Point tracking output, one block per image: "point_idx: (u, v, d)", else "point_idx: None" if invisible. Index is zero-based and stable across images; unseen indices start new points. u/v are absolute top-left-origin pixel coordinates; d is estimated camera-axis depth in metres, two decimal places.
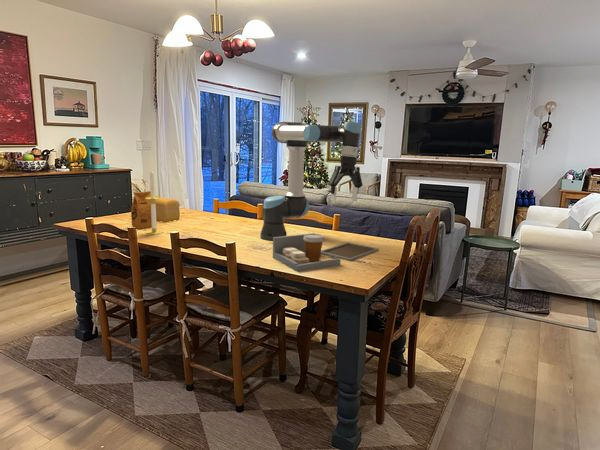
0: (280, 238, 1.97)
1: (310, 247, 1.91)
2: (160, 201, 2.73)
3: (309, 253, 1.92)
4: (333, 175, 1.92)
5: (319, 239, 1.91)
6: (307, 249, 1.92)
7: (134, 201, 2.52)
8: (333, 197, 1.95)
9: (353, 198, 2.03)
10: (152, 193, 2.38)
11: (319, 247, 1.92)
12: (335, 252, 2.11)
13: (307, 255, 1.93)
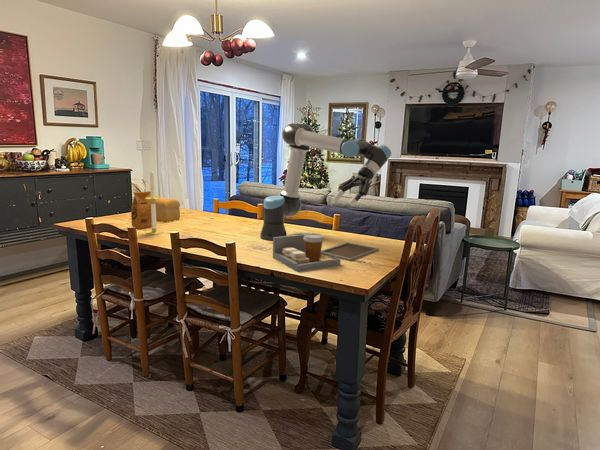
0: (280, 238, 1.97)
1: (310, 247, 1.91)
2: (161, 201, 2.73)
3: (309, 253, 1.92)
4: (367, 186, 2.00)
5: (319, 239, 1.91)
6: (307, 249, 1.92)
7: (134, 201, 2.52)
8: (353, 202, 1.99)
9: (336, 199, 2.10)
10: (152, 193, 2.38)
11: (319, 247, 1.92)
12: (335, 252, 2.11)
13: (307, 255, 1.93)
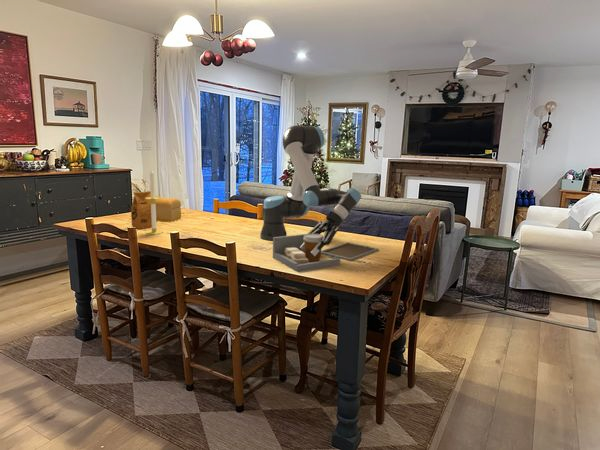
0: (280, 238, 1.97)
1: (310, 247, 1.91)
2: (164, 201, 2.74)
3: (309, 253, 1.92)
4: (331, 235, 1.90)
5: (319, 239, 1.90)
6: (307, 249, 1.92)
7: (134, 201, 2.52)
8: (316, 252, 1.90)
9: (303, 247, 1.98)
10: (152, 193, 2.38)
11: None
12: (335, 252, 2.11)
13: (307, 255, 1.93)
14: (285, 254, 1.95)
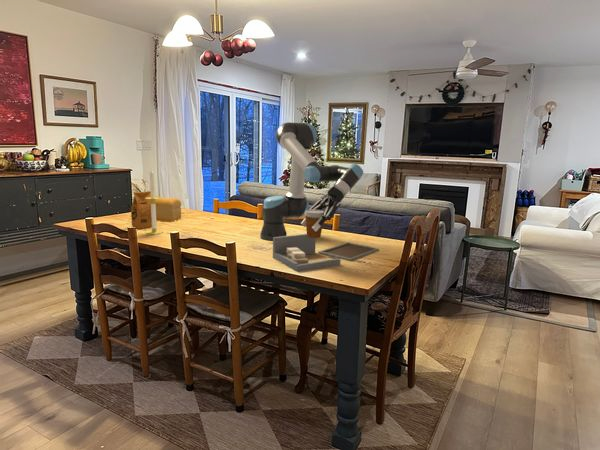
0: (280, 238, 1.97)
1: (311, 222, 1.89)
2: (165, 201, 2.75)
3: (310, 229, 1.90)
4: (333, 210, 1.88)
5: (320, 214, 1.88)
6: (308, 225, 1.90)
7: (134, 201, 2.52)
8: (317, 227, 1.87)
9: (304, 223, 1.95)
10: (152, 193, 2.38)
11: None
12: (335, 252, 2.11)
13: (308, 231, 1.91)
14: (286, 254, 1.95)
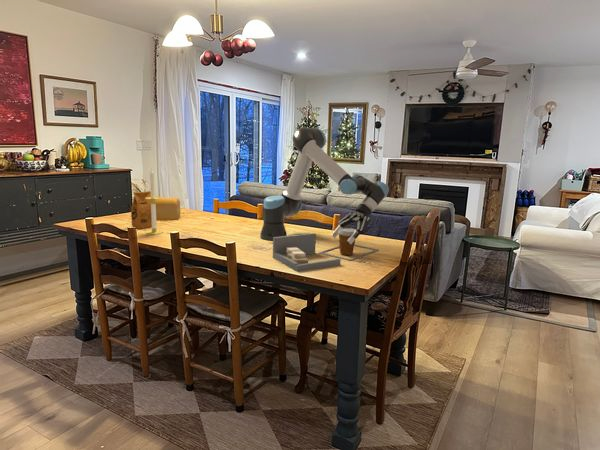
0: (280, 238, 1.97)
1: (345, 240, 2.04)
2: (168, 200, 2.77)
3: (344, 246, 2.05)
4: (365, 224, 2.03)
5: None
6: (342, 242, 2.05)
7: (134, 201, 2.52)
8: (352, 240, 2.02)
9: (334, 235, 2.13)
10: (152, 193, 2.38)
11: None
12: None
13: (342, 248, 2.06)
14: (286, 254, 1.95)
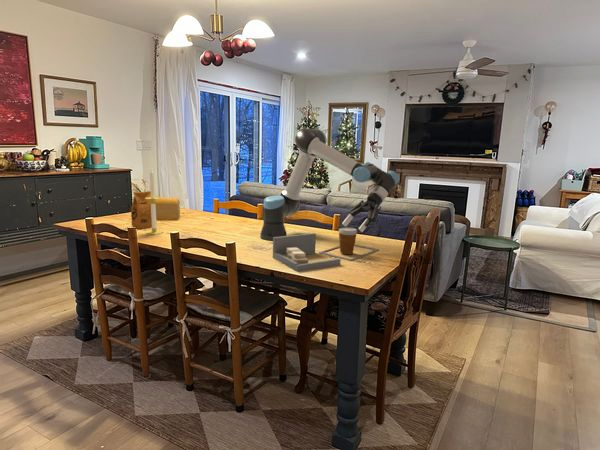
0: (280, 238, 1.97)
1: (345, 239, 2.05)
2: (169, 200, 2.78)
3: (344, 245, 2.06)
4: (376, 212, 2.04)
5: (354, 232, 2.04)
6: (342, 241, 2.06)
7: (134, 201, 2.52)
8: (363, 228, 2.03)
9: (345, 223, 2.14)
10: (152, 193, 2.38)
11: (353, 239, 2.06)
12: None
13: (342, 247, 2.07)
14: (286, 254, 1.95)
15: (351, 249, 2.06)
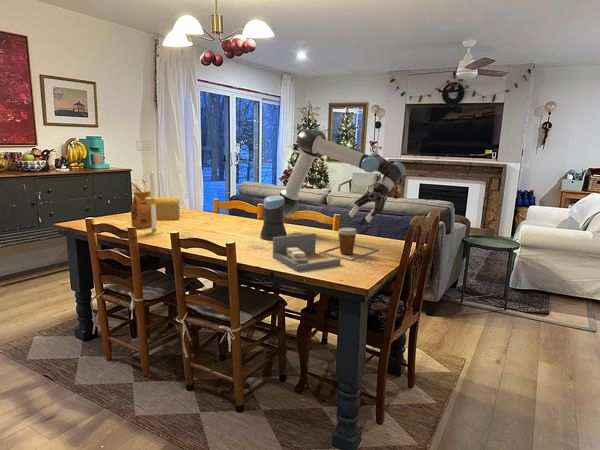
0: (280, 238, 1.97)
1: (344, 240, 2.05)
2: (169, 200, 2.78)
3: (344, 245, 2.06)
4: (383, 203, 2.06)
5: (353, 232, 2.04)
6: (342, 242, 2.06)
7: (134, 201, 2.52)
8: (370, 218, 2.05)
9: (351, 214, 2.16)
10: (152, 193, 2.38)
11: (353, 239, 2.06)
12: None
13: (342, 247, 2.07)
14: (286, 254, 1.95)
15: (351, 249, 2.07)
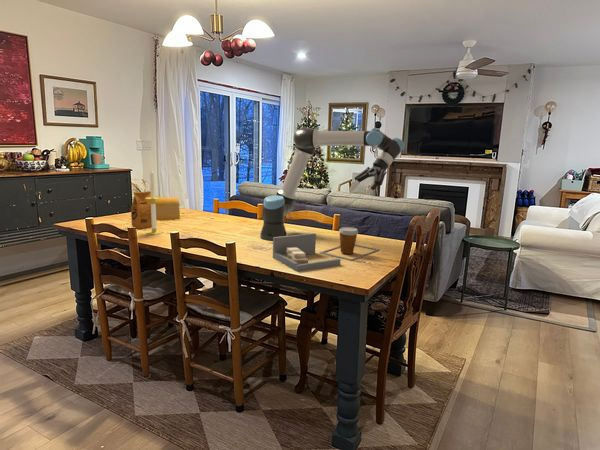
0: (280, 238, 1.97)
1: (345, 239, 2.05)
2: (170, 200, 2.79)
3: (344, 245, 2.07)
4: (382, 176, 2.12)
5: (354, 232, 2.04)
6: (342, 241, 2.07)
7: (134, 201, 2.52)
8: (369, 192, 2.11)
9: (352, 189, 2.22)
10: (152, 193, 2.38)
11: (354, 240, 2.06)
12: None
13: (342, 247, 2.08)
14: (286, 254, 1.95)
15: (351, 249, 2.07)
